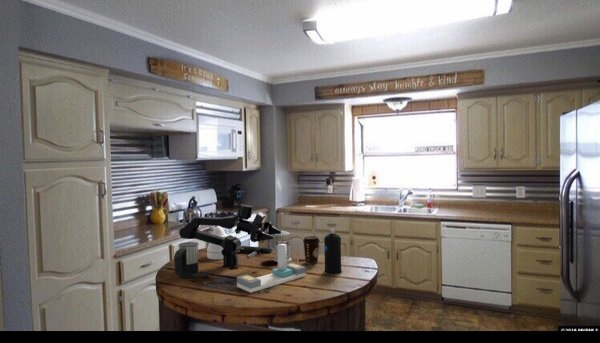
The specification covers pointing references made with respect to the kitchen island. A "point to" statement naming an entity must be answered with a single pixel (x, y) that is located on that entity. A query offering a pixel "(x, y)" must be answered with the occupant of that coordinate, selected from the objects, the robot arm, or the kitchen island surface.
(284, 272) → the carriage
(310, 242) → the coffee cup
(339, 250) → the aerosol can
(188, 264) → the milk frother
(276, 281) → the rail
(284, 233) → the french press
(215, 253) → the white jug
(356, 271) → the kitchen island surface
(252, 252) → the door handle
